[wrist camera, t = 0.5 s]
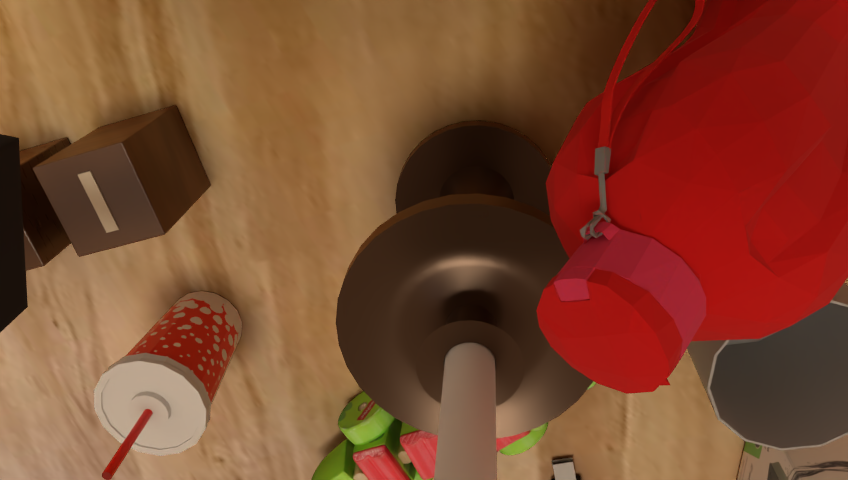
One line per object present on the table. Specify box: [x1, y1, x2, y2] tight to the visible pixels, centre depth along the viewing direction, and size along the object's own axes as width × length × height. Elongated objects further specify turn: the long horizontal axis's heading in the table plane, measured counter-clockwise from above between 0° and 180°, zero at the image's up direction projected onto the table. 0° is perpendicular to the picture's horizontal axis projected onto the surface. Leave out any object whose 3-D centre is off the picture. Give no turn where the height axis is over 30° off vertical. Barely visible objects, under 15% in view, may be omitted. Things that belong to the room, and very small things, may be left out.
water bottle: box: [536, 0, 848, 393], centre depth 28 cm, size 9×11×25 cm
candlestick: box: [336, 121, 593, 480], centre depth 28 cm, size 11×11×35 cm
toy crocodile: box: [312, 381, 596, 480], centre depth 47 cm, size 20×7×6 cm, turn 122°
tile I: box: [33, 105, 210, 257], centre depth 41 cm, size 5×5×7 cm
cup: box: [687, 283, 848, 450], centre depth 40 cm, size 8×8×10 cm
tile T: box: [19, 138, 71, 271], centre depth 42 cm, size 5×5×7 cm
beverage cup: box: [94, 291, 242, 480], centre depth 42 cm, size 6×6×14 cm
